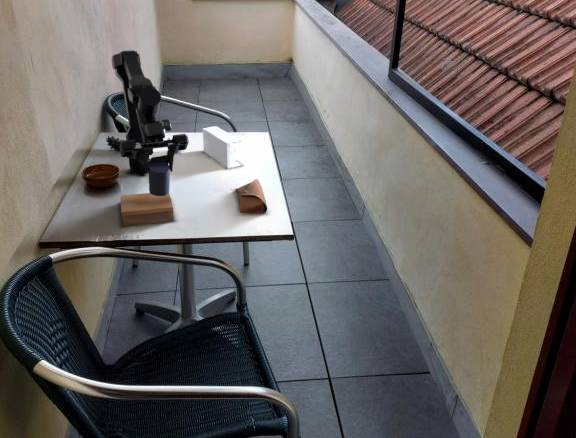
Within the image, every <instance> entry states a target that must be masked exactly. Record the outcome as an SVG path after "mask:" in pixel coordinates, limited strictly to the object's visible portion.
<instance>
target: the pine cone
mask: <svg viewBox="0 0 576 438" xmlns="http://www.w3.org/2000/svg"><path fill="white" fill-rule="evenodd" d="M105 139H106V140H105V142H107V146H109V147H110V150H112V149H113V150H114V152H118V153H120V143H121V142H122V141H123V140H124V139H120V138H119V137H117V138H115V136H114V135H112V136H111V137H110V136H107V137H105Z"/></svg>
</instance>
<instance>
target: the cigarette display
mask: <svg viewBox="0 0 576 438" xmlns="http://www.w3.org/2000/svg"><path fill="white" fill-rule="evenodd" d="M241 142H242V140H240V139H239V138H237V137H235V136H234V135H232V134H230V133H229V132H227V131H225V130H224V129H222V128H220V127H219V126H217V125H213V126H209V127H203V128H202V145H203V147H202V148H203V149H202V151H203V153H205V154H207V155H208V156H210V157H211V158H213V159H214V160H216V161H217V162H218V163H219V164H222V165H223V166H224V167H226V169H227V170H228V169H231V168H237V167H241V166H242V164H241V163H240V162H238V161H237V150H236V148H234V147H231V145H232V144H238V143H241Z"/></svg>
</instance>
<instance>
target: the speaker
mask: <svg viewBox="0 0 576 438" xmlns="http://www.w3.org/2000/svg"><path fill="white" fill-rule="evenodd" d="M150 159H151V165H150V166H149V167H150V175H149V174H148V191H149V193H151V194H152V195H155V196H165V195H167V194H168V193H169V194H170V182H171V181H170V180H171V179H170V177H171V174H170V173H171V171H170V167H169V163H168V160H169V155H167V154H164V155H159V156H153V157H150Z"/></svg>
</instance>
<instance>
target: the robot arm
mask: <svg viewBox="0 0 576 438" xmlns="http://www.w3.org/2000/svg"><path fill="white" fill-rule="evenodd" d="M111 66H112V69H113V70H114V74H115V76H116V78H118V80H119V81H120V82H121V85H122V90H123V96H124V104H125V110H126V115H127V122H128V129H127V132H126V134H125V140H124V139H122V140H123V141H122V142H121V143H120V151H119V153H120V157H121V158H127V159H128V164H129V170H127V174H131V175H137V176H143V177H144V176H145V175H148V176H149V175H150V167H149V166H150V165H151V157H150V156H153V154H154V149H162V148H163V149H164V148H167V152H166V155H169V160H168V165H169V167H170V173H173V170H174V169H173V168H174V159H175V155H176V154H178V153H179V152H178V151H181V152H182V151H185V150H187V148H188V145H189V142H190V140H189V137H188V135H187V134H186V133H179V134H173V135H172V138H171V139H172V140H167V139H165V138H166V132H171V131H172V124H171V121H170V118H165V119H162V120H161V122H160V118H159V115H158V112H159V110H160V106H161V101H162V94H161V92H159V90H158V89H157V88H156V86H155V85H154V84H153V82H152V80H151V79H150V78H148V77H146V76H145V74H144V71H143V69H142V63H141V56H140V53H138V51H137V50H121V51H119V53H115V54H113V55H112V56H111ZM164 139H165V140H164Z"/></svg>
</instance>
